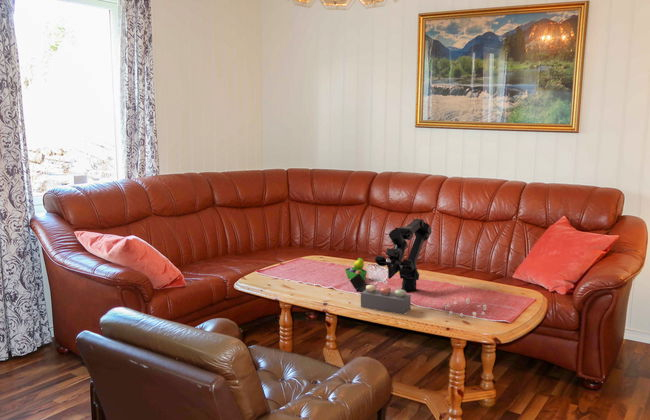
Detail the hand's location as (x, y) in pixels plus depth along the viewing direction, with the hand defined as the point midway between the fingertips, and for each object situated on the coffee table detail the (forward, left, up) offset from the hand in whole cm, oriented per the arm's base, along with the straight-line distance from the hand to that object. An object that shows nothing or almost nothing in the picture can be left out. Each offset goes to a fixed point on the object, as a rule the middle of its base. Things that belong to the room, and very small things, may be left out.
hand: (389, 278), depth 274 cm
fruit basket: (-4, -44, -14) cm, 46 cm away
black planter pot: (0, -28, -14) cm, 31 cm away
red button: (+4, +3, -8) cm, 9 cm away
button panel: (+4, +3, -13) cm, 14 cm away
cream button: (+8, -3, -8) cm, 12 cm away
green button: (-1, +9, -8) cm, 12 cm away
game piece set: (-28, +21, -14) cm, 38 cm away
